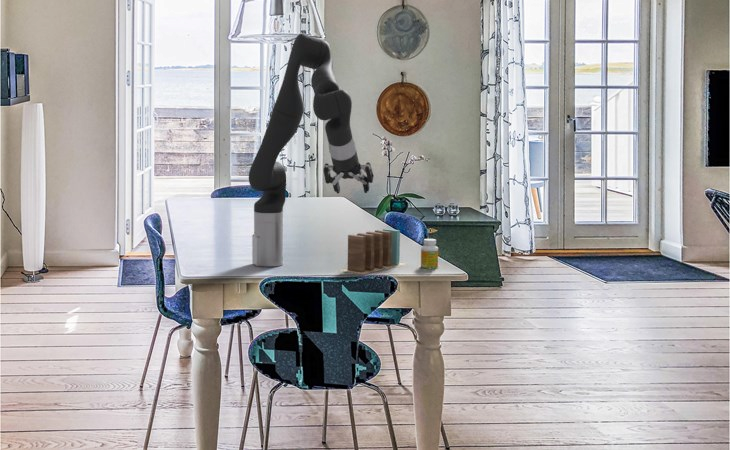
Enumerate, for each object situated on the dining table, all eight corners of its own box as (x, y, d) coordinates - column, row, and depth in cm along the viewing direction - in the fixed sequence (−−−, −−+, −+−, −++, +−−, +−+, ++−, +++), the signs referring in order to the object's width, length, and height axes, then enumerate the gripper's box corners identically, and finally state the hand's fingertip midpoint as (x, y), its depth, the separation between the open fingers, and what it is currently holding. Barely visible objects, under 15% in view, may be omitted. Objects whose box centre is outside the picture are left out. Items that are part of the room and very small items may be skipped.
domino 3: (379, 268, 266) (380, 233, 264) (365, 266, 269) (366, 232, 268) (382, 267, 267) (383, 233, 266) (368, 265, 271) (369, 231, 269)
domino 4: (388, 266, 269) (388, 232, 268) (374, 264, 273) (374, 230, 271) (391, 265, 271) (391, 231, 269) (377, 263, 274) (377, 230, 273)
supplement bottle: (428, 272, 266) (428, 241, 264) (417, 269, 270) (417, 239, 269) (441, 270, 269) (442, 240, 268) (430, 267, 273) (430, 237, 272)
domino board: (361, 276, 256) (361, 274, 256) (338, 273, 262) (338, 270, 262) (407, 266, 275) (407, 263, 275) (385, 262, 280) (385, 260, 280)
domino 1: (361, 272, 259) (362, 236, 257) (347, 270, 262) (347, 235, 261) (365, 271, 260) (365, 236, 259) (350, 269, 264) (351, 234, 262)
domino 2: (370, 270, 262) (371, 235, 261) (356, 268, 266) (357, 233, 264) (373, 269, 264) (374, 234, 262) (359, 267, 267) (360, 233, 266)
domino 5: (396, 264, 273) (397, 230, 271) (382, 262, 276) (383, 229, 275) (399, 264, 274) (400, 230, 273) (385, 262, 278) (386, 228, 276)
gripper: (369, 141, 244) (377, 182, 255) (321, 142, 247) (331, 183, 258) (365, 158, 239) (373, 199, 250) (316, 159, 242) (327, 200, 253)
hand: (352, 191), depth 254 cm, fingers open, 8 cm apart
